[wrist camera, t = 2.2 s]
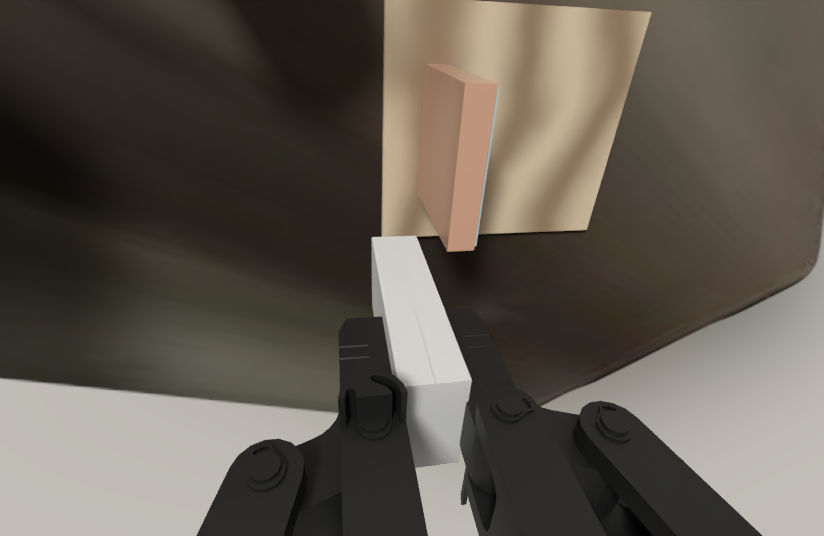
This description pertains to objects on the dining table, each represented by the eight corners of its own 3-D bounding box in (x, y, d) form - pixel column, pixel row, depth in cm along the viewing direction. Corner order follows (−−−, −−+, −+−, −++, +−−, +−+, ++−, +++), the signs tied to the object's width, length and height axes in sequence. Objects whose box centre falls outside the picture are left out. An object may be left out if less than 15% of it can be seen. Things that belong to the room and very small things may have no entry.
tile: (417, 194, 35) (447, 251, 26) (425, 63, 30) (465, 82, 21) (440, 194, 35) (476, 250, 27) (452, 64, 30) (501, 84, 22)
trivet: (381, 235, 37) (382, 237, 36) (383, -5, 28) (384, -6, 27) (583, 227, 40) (586, 229, 40) (646, 12, 31) (651, 12, 31)
